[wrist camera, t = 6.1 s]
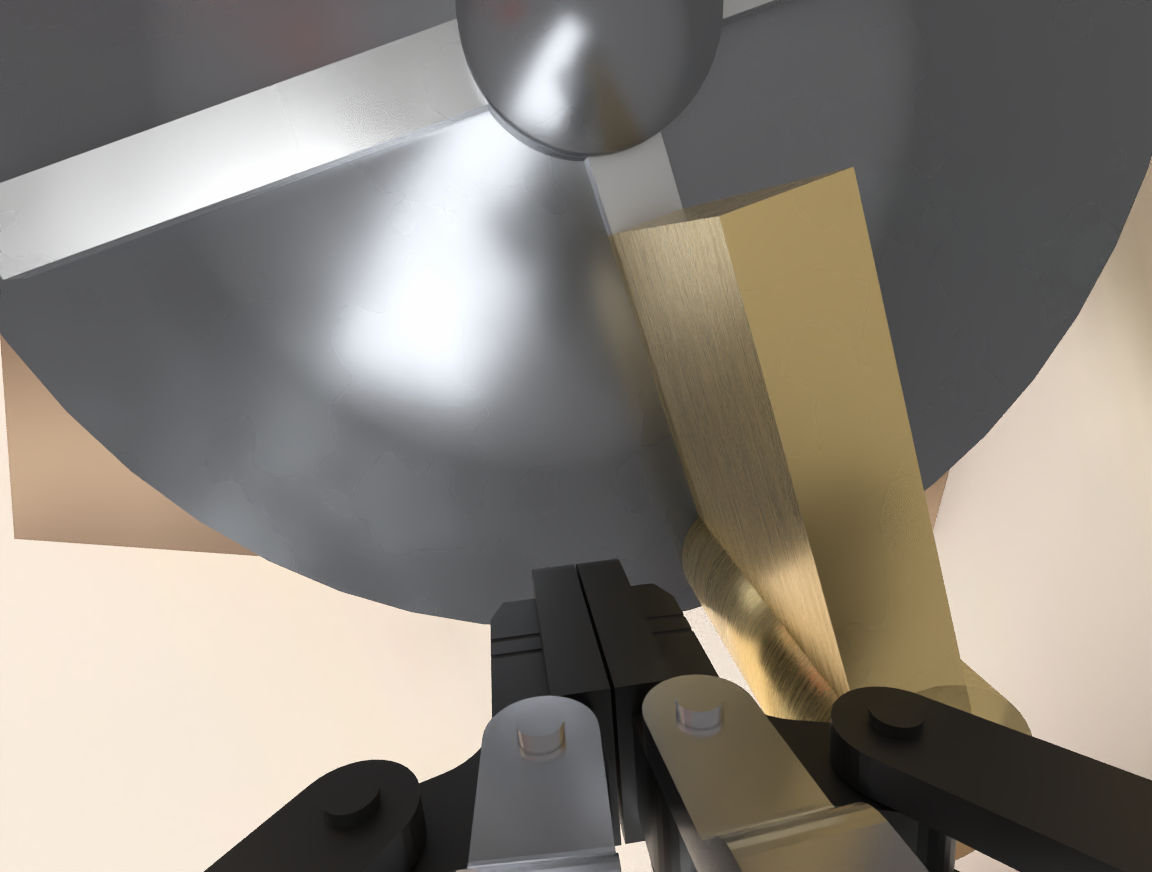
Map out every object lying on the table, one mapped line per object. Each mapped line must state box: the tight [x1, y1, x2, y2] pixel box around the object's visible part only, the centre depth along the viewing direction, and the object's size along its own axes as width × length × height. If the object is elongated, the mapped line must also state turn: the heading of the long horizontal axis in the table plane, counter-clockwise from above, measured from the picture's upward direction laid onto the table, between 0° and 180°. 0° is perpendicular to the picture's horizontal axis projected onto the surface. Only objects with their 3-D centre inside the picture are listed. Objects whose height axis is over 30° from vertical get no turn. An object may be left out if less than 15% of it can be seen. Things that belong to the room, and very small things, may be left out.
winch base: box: [0, 333, 949, 556], centre depth 16 cm, size 27×26×5 cm
